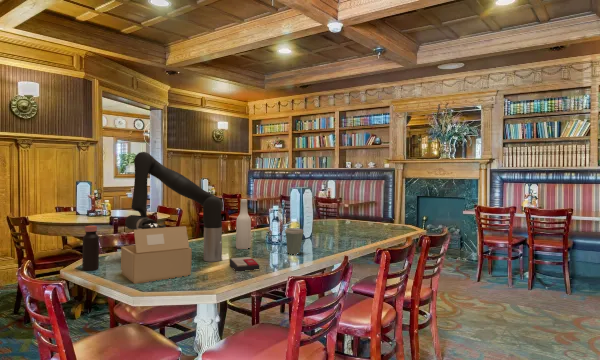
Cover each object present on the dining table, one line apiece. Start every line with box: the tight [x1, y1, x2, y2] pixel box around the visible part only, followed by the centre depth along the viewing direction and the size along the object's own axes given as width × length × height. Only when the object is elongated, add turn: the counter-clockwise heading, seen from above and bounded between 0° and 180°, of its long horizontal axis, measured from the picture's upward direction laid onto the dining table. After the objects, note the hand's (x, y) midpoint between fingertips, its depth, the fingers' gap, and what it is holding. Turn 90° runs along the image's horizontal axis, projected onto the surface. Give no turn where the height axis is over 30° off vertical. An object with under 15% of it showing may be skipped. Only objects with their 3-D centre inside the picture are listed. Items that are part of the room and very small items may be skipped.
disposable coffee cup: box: [284, 227, 304, 255], centre depth 231 cm, size 11×11×15 cm
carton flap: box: [133, 225, 190, 253], centre depth 174 cm, size 22×10×1 cm
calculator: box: [229, 256, 260, 272], centre depth 196 cm, size 11×4×15 cm
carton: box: [120, 245, 193, 285], centre depth 180 cm, size 25×20×12 cm
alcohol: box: [235, 198, 252, 250], centre depth 246 cm, size 9×9×30 cm
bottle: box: [81, 225, 100, 272], centre depth 188 cm, size 7×7×20 cm
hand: (158, 230), depth 178 cm, fingers closed
